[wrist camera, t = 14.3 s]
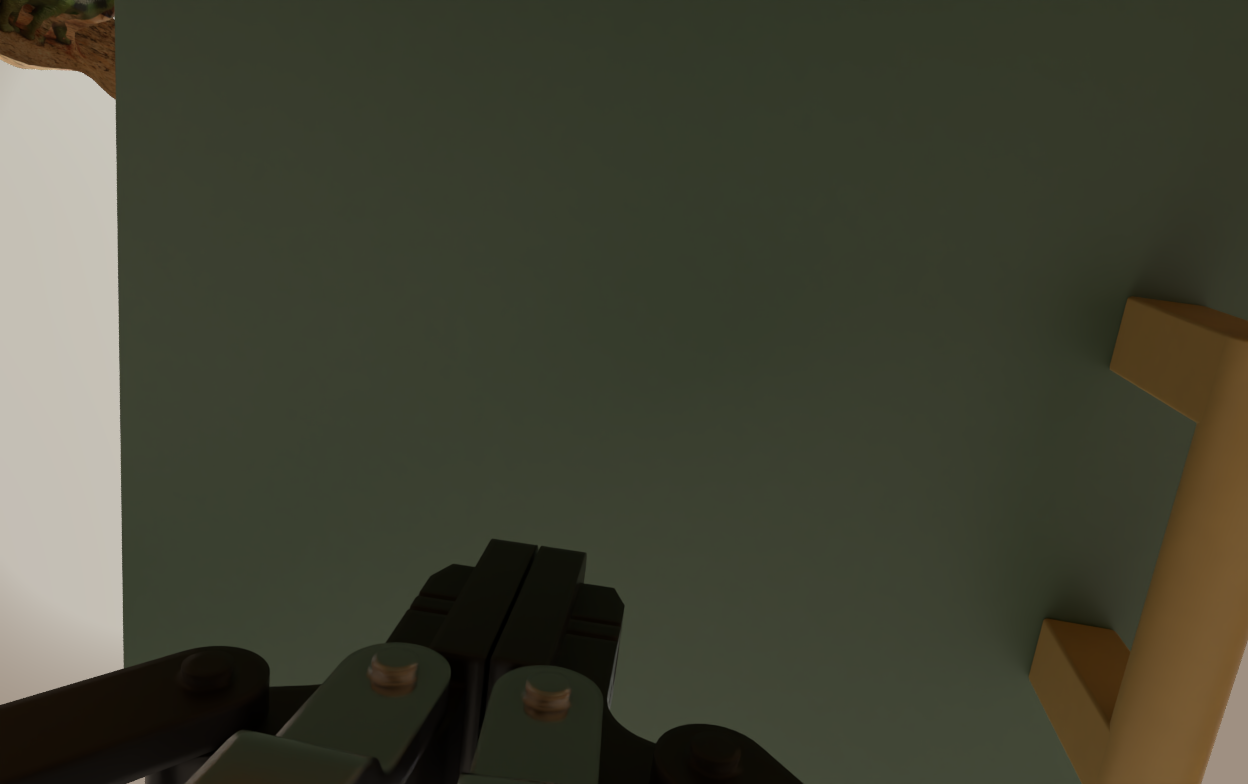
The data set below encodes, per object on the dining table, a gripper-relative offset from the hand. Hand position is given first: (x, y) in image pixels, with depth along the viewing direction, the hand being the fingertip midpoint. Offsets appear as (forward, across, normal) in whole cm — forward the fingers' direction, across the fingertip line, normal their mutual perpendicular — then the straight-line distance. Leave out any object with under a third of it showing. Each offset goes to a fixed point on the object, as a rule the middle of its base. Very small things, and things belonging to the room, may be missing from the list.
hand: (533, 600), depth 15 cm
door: (+5, -1, -14) cm, 15 cm away
